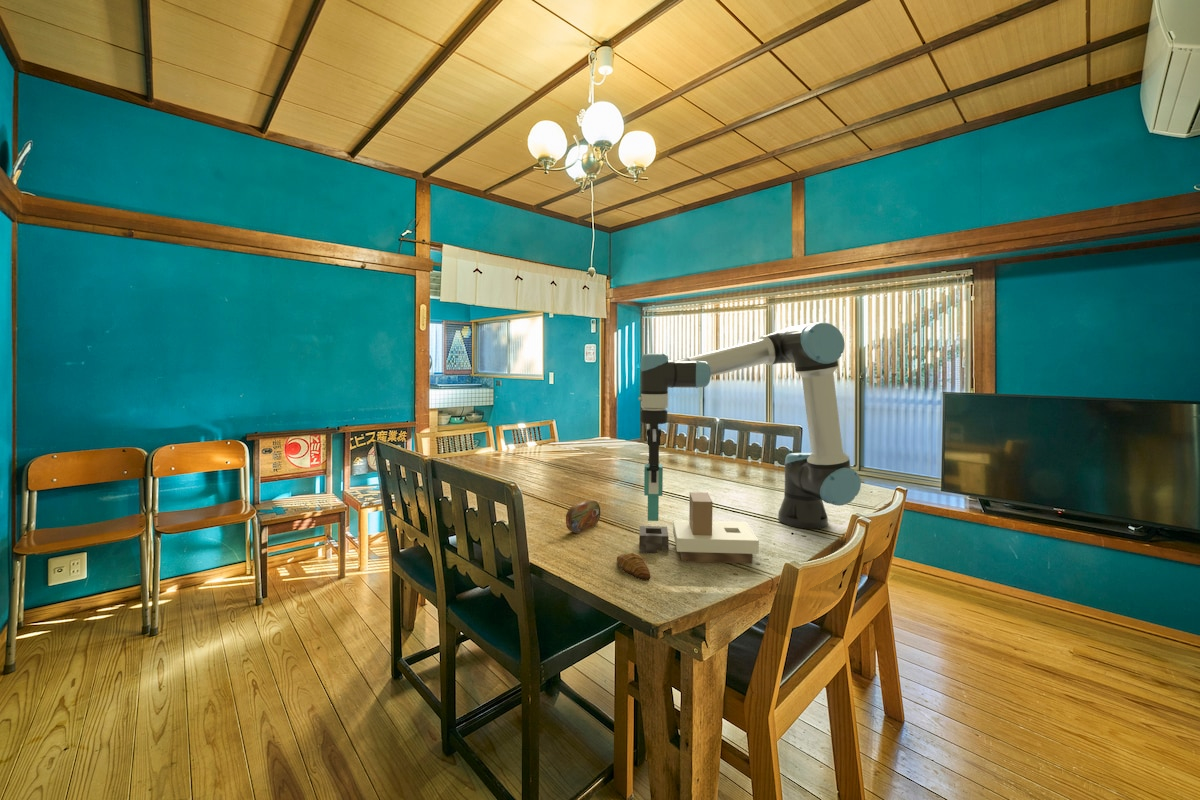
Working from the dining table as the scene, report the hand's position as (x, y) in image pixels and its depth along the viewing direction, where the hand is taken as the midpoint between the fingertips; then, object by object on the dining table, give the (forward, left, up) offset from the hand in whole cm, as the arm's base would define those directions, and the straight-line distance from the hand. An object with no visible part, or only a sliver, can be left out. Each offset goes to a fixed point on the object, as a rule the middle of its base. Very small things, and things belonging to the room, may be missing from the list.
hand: (653, 490), depth 135 cm
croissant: (+6, +16, -17) cm, 24 cm away
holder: (0, 0, -17) cm, 17 cm away
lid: (-16, +5, -13) cm, 21 cm away
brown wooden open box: (-16, +5, -17) cm, 24 cm away
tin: (+22, -15, -17) cm, 32 cm away
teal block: (0, 0, -8) cm, 8 cm away
